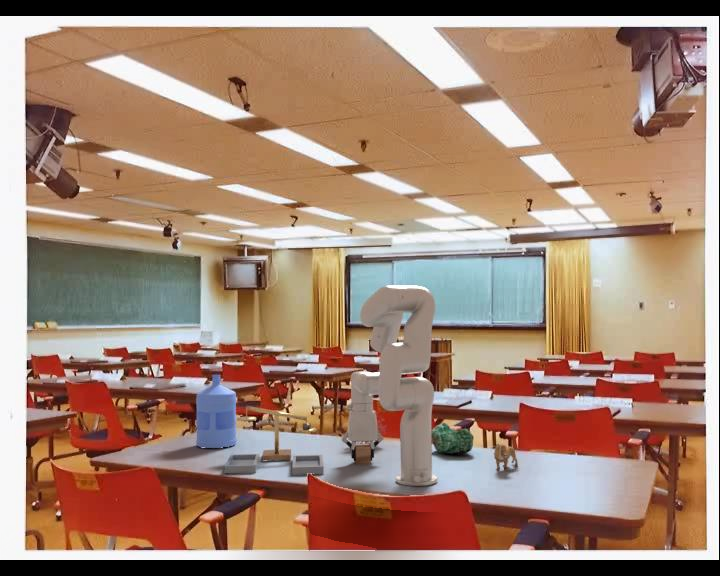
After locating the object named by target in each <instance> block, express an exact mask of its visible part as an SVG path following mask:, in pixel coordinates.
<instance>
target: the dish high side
mask: <svg viewBox="0 0 720 576" xmlns="http://www.w3.org/2000/svg"><path fill="white" fill-rule="evenodd" d="M258 463H259V464H260V453H244V454H242V453H241V454H240V453H239V454H238V453H237V454H230V455H229V458H228V459H227V461H226V463H225V465H224V474H225V473H239V474H256V473H257V470H258V466H259V464H258Z"/></svg>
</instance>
